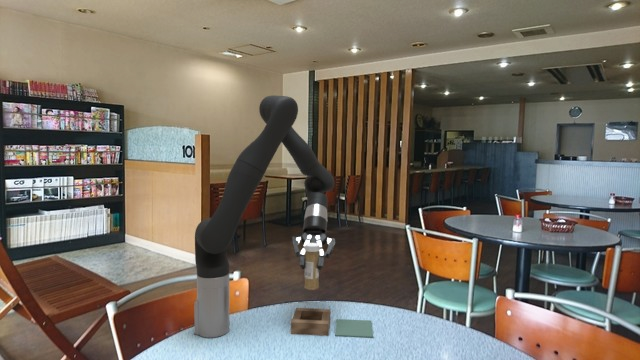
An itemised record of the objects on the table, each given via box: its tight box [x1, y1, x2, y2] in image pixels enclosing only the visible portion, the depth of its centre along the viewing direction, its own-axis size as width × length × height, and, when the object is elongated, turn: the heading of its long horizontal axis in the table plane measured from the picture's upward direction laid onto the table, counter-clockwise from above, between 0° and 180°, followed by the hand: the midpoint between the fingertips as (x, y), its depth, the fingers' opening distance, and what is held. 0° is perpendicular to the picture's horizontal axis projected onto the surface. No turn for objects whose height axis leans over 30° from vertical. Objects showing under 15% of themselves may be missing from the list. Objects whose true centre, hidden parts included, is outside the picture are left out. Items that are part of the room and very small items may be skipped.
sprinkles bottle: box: [303, 243, 320, 291], centre depth 118 cm, size 5×5×13 cm
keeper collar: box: [290, 307, 331, 337], centre depth 119 cm, size 11×11×4 cm
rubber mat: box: [334, 318, 374, 339], centre depth 119 cm, size 11×11×1 cm
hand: (311, 268), depth 117 cm, fingers closed on sprinkles bottle, 4 cm apart
